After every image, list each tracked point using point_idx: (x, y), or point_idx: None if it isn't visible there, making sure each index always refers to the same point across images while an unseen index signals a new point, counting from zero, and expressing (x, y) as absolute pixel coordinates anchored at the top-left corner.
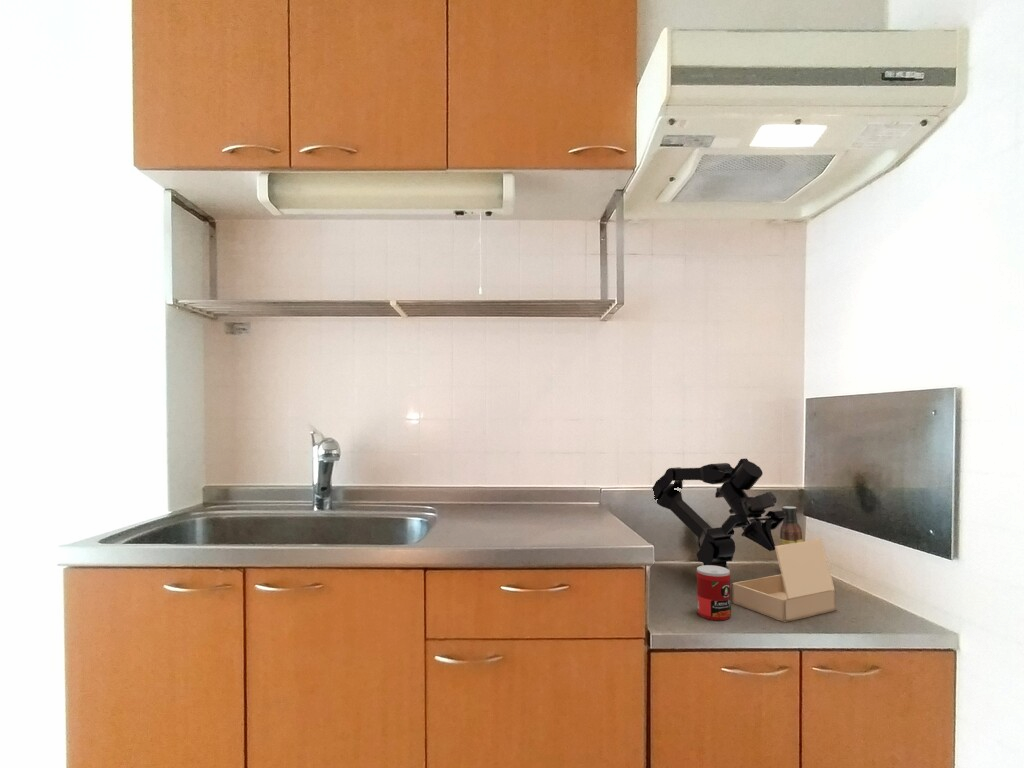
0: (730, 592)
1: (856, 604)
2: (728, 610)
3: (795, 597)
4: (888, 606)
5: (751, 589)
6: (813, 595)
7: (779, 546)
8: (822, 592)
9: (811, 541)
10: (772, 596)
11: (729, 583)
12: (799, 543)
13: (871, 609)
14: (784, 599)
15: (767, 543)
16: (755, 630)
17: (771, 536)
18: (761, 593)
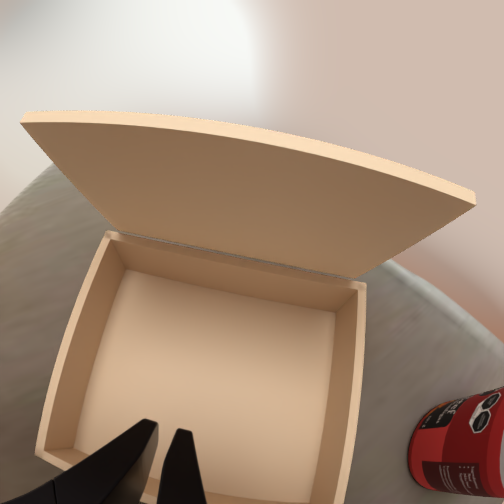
0: (471, 404)
1: (42, 251)
2: (453, 400)
3: (303, 276)
4: (26, 204)
5: (352, 432)
6: (215, 255)
7: (449, 185)
8: (166, 244)
9: (105, 115)
10: (362, 331)
11: (501, 389)
12: (236, 129)
13: (63, 216)
14: (354, 288)
15: (198, 478)
16: (437, 319)
17: (69, 482)
18: (361, 380)
